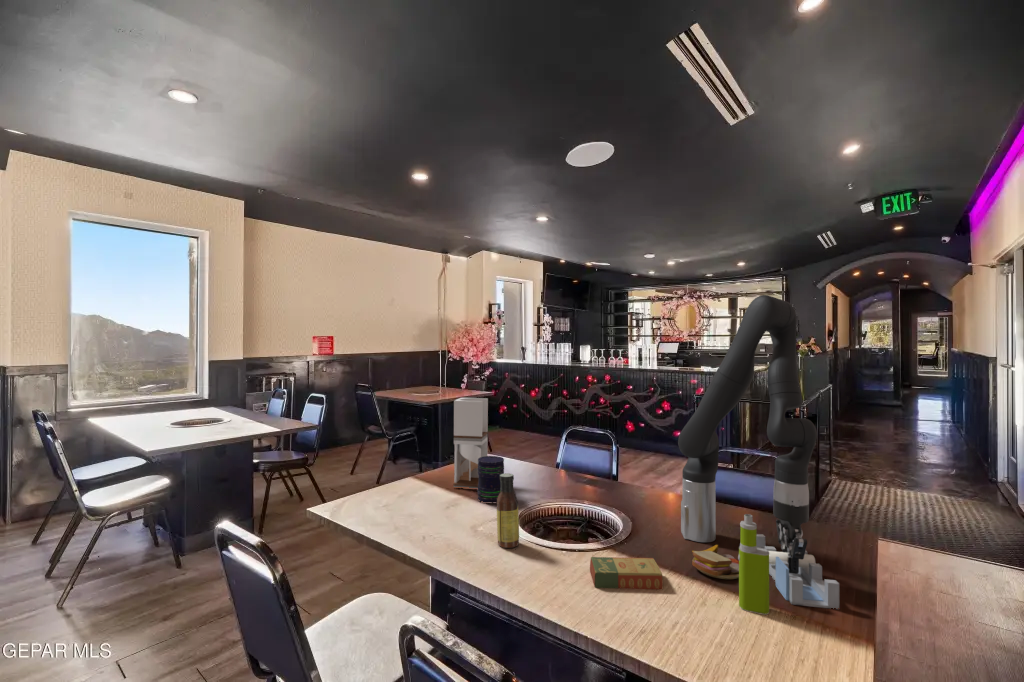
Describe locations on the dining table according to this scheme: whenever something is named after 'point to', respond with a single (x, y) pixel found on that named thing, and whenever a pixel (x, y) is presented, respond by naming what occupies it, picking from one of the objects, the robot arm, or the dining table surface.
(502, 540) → the sauce bottle
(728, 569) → the toy sandwich meal
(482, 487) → the storage jar
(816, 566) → the white peg rack
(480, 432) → the white boxy tower
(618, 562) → the carton
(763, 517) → the dining table surface
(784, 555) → the cream cylindrical rod
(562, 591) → the dining table surface
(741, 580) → the vape
